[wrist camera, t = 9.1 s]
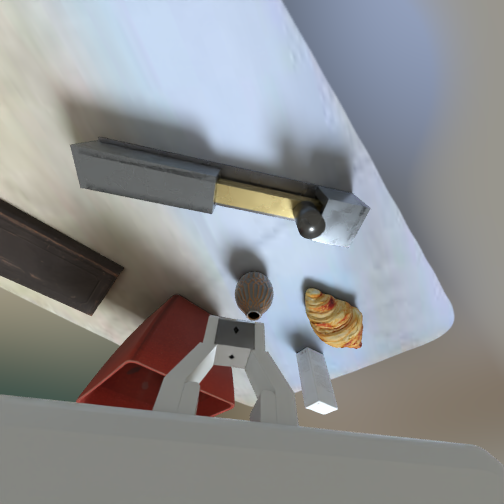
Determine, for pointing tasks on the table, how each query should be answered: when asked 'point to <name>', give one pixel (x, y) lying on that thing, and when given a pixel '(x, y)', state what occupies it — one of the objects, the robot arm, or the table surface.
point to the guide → (201, 184)
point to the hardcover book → (52, 262)
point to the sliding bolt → (273, 205)
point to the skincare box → (315, 382)
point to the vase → (254, 294)
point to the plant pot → (160, 363)
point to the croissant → (334, 319)
